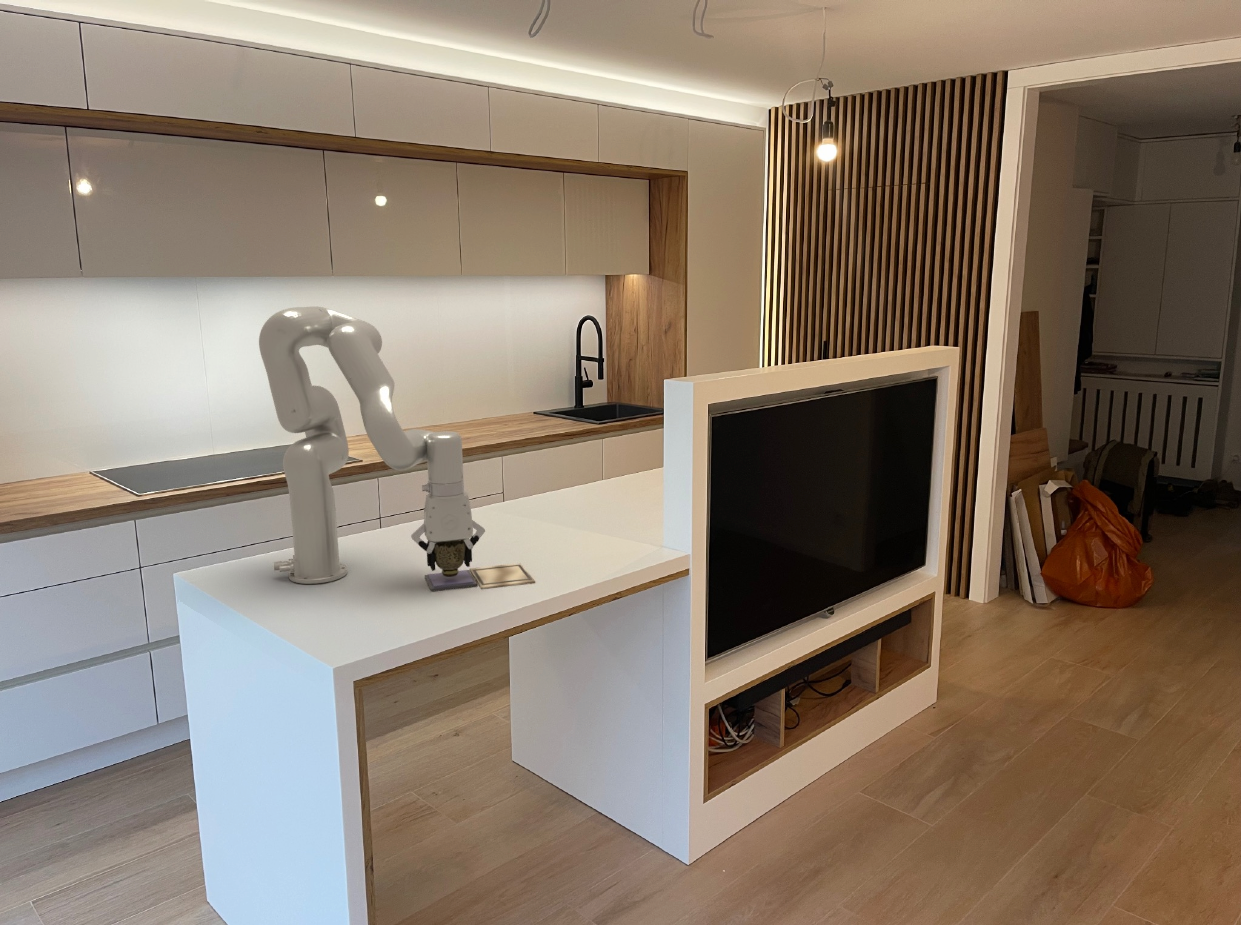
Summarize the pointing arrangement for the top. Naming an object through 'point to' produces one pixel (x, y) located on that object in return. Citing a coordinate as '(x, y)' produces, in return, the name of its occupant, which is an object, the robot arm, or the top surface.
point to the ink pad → (450, 581)
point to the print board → (501, 575)
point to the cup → (449, 556)
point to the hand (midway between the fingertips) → (450, 566)
